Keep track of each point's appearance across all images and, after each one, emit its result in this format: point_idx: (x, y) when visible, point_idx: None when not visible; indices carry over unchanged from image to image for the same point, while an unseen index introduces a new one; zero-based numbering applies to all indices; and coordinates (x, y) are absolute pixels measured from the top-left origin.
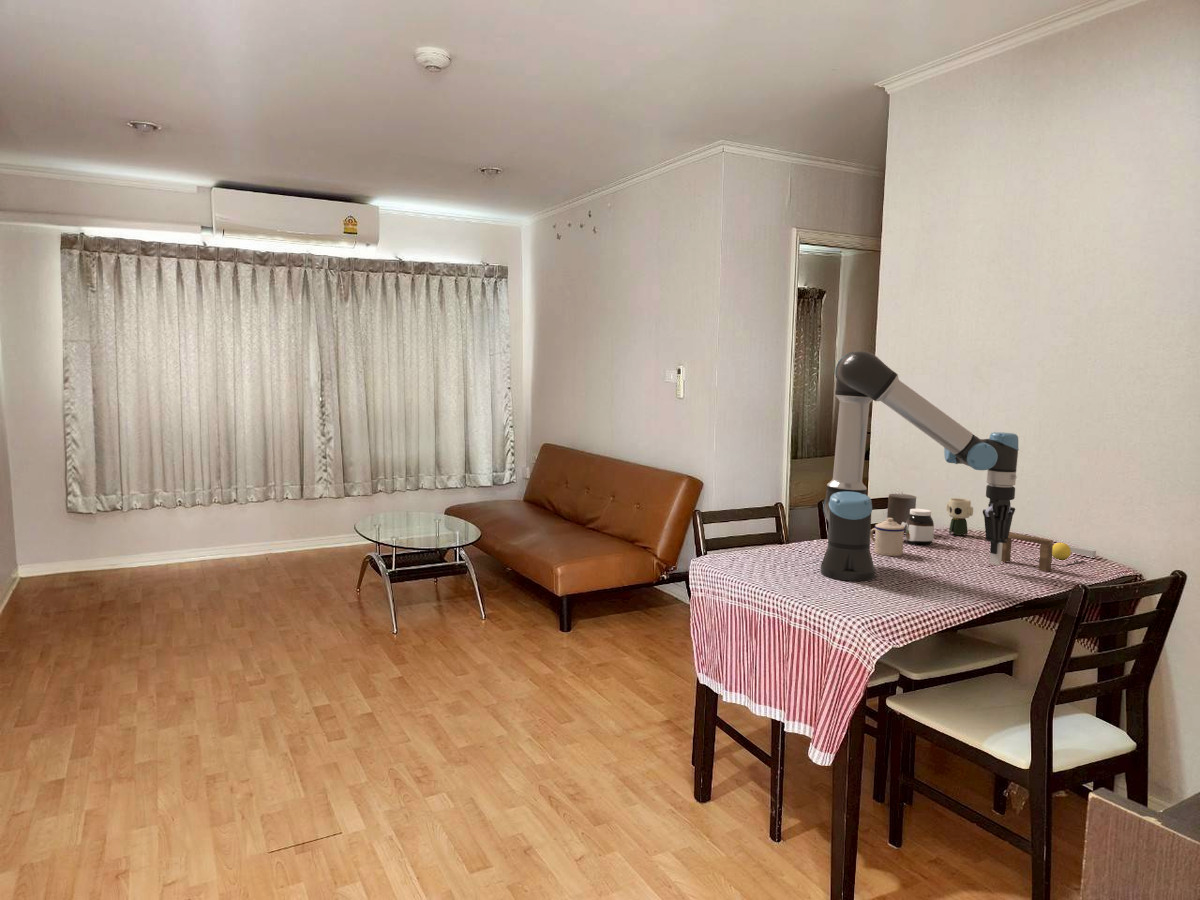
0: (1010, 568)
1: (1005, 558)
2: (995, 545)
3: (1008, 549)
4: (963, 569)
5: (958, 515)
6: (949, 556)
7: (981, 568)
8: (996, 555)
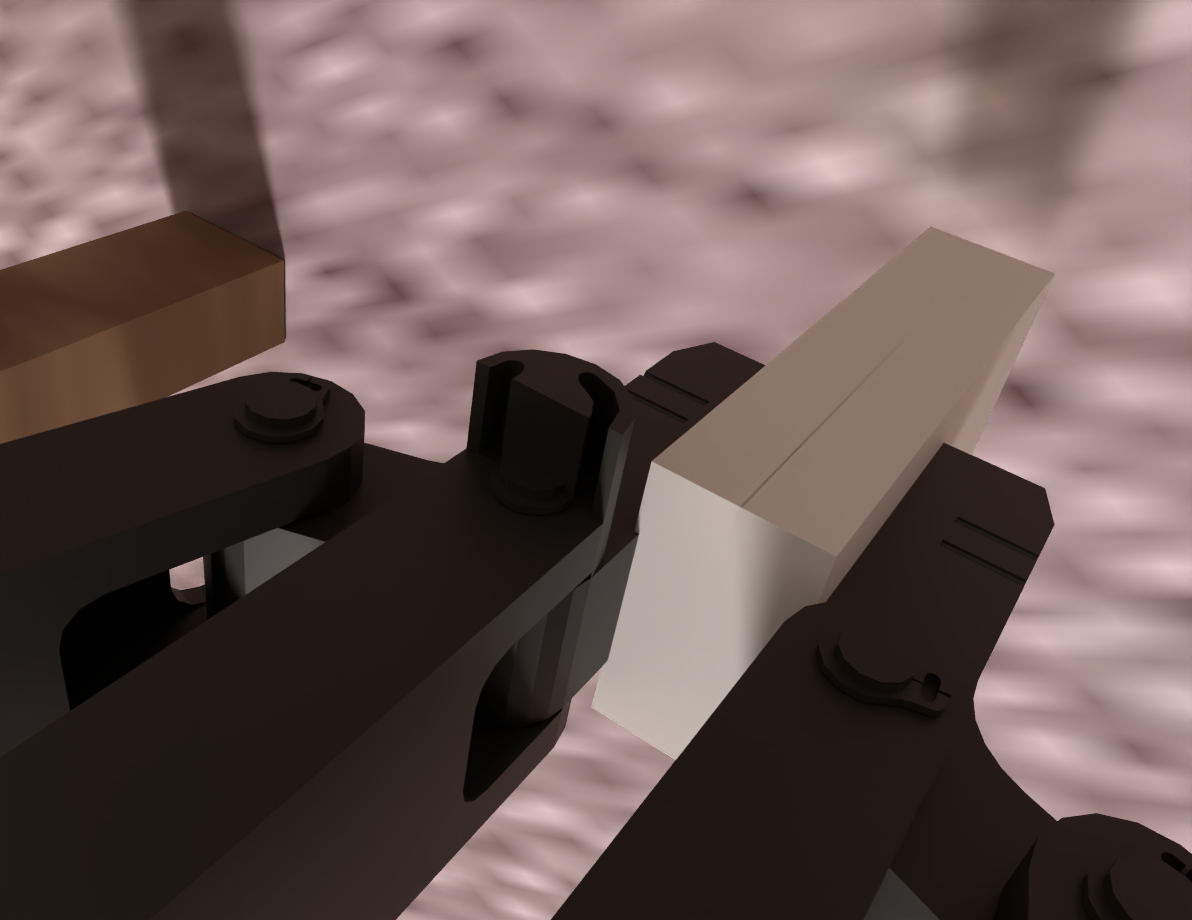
0: (519, 106)
1: (227, 274)
2: (969, 650)
3: (65, 291)
4: (1180, 789)
5: None
6: (504, 843)
7: None
8: (960, 425)
